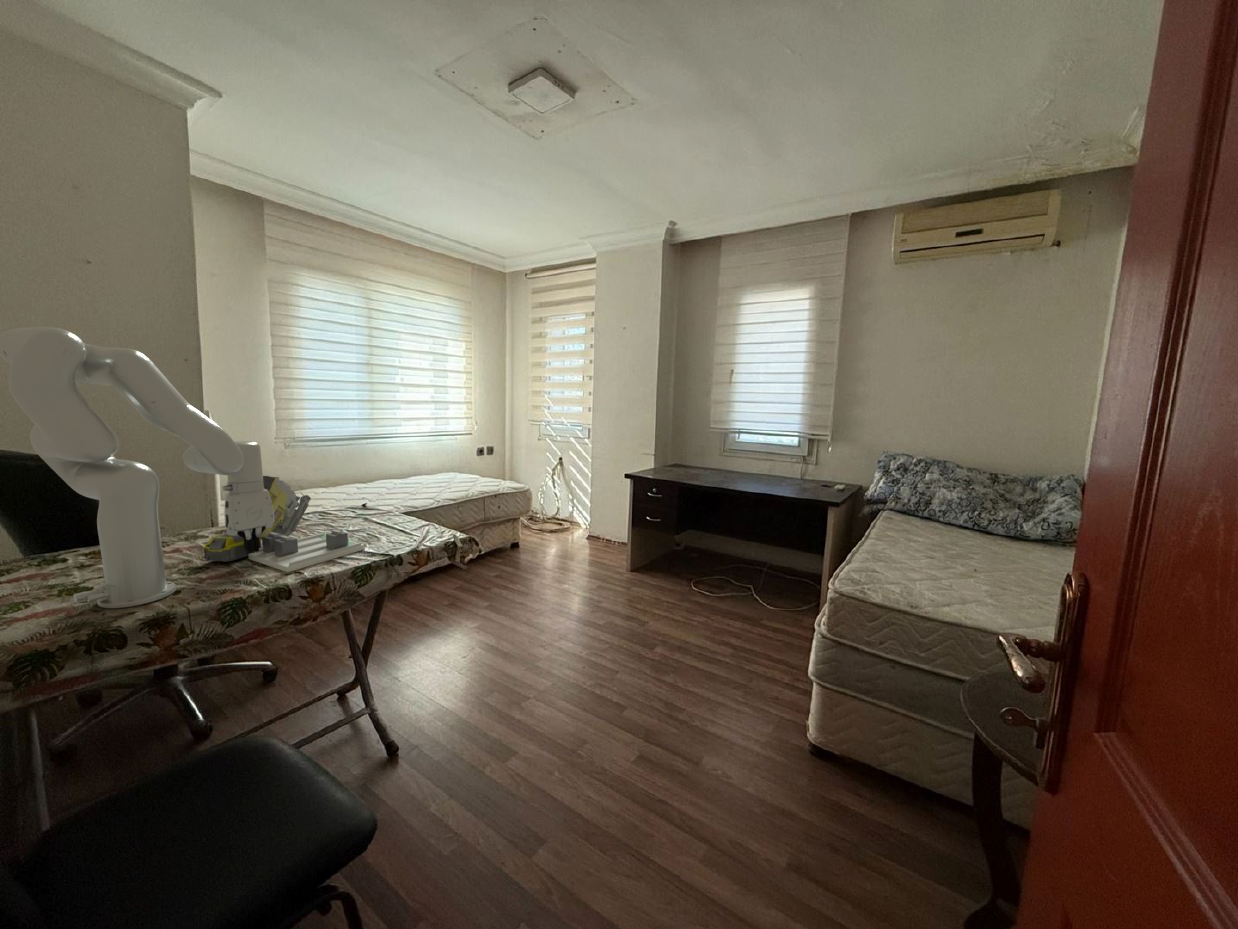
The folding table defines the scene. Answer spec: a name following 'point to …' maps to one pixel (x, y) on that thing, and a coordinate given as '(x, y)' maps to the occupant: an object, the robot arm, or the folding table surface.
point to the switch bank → (305, 553)
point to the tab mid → (285, 546)
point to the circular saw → (283, 524)
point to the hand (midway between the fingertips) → (252, 551)
